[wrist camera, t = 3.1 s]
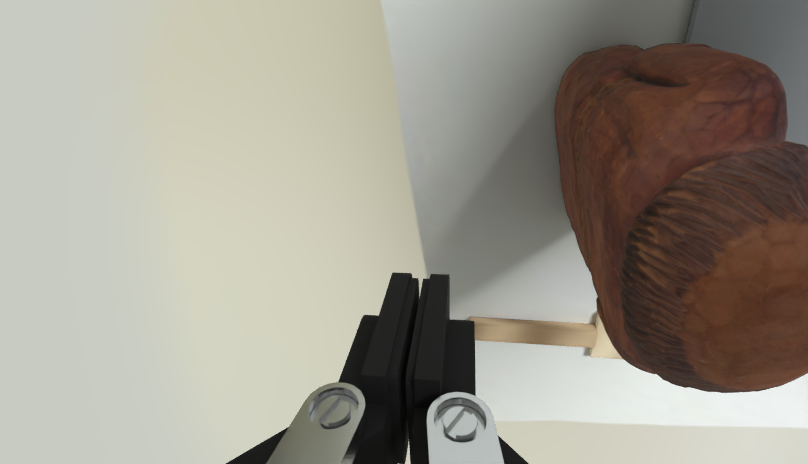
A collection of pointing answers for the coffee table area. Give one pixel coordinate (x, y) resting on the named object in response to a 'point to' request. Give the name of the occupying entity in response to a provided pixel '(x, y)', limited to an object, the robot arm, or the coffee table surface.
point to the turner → (547, 334)
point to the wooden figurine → (689, 212)
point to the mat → (762, 44)
